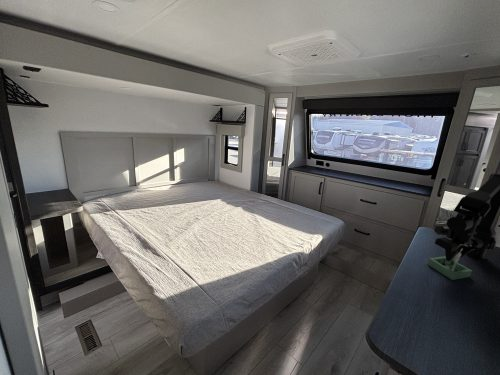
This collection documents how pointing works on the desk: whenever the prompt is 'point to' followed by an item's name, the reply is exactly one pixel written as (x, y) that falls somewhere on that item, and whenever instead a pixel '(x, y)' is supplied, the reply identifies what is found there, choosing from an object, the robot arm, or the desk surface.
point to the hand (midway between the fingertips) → (451, 260)
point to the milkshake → (453, 262)
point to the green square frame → (460, 273)
